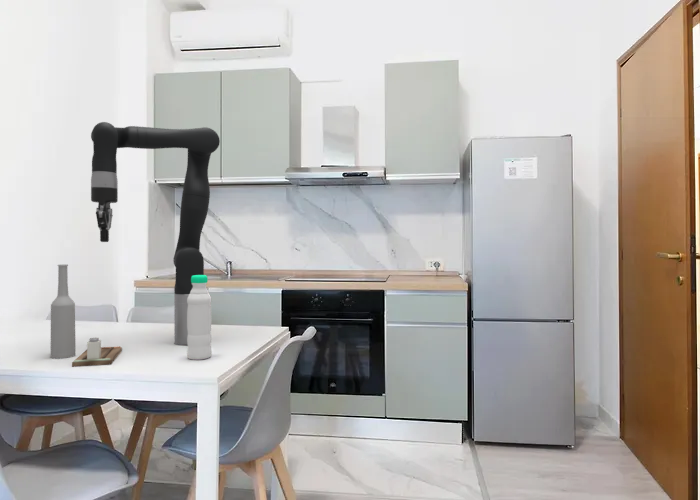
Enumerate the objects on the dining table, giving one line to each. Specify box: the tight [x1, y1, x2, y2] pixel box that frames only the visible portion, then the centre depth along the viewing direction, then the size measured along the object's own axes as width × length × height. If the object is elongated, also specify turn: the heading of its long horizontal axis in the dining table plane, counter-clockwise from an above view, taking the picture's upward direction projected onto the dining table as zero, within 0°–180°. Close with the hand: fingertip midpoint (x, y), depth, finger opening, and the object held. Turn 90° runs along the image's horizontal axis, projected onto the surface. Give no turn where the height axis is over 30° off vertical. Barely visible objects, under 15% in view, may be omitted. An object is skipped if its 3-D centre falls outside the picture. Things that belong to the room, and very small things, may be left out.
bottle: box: [50, 264, 76, 360], centre depth 148 cm, size 7×7×28 cm
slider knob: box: [86, 337, 102, 360], centre depth 140 cm, size 3×3×6 cm
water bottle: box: [186, 274, 212, 361], centre depth 147 cm, size 7×7×25 cm
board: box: [71, 345, 123, 368], centre depth 145 cm, size 10×18×2 cm, turn 16°
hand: (104, 241), depth 154 cm, fingers closed
